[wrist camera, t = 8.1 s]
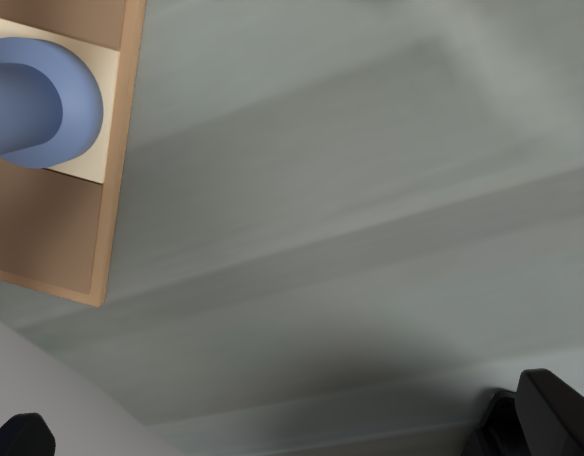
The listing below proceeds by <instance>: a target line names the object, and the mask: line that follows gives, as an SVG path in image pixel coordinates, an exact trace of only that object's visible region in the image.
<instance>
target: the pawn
mask: <svg viewBox="0 0 584 456" xmlns="http://www.w3.org/2000/svg"><path fill="white" fill-rule="evenodd" d="M103 116H104V108H103V100H102V95H101V91H100V89H99V86H98V83H97V81H96V79H95V77H94V75H93V74H92V72H91V71H90V69H89V68H88V67H87V65H86V64H85V63H84V62H83V61H82V60H81V59H80V58H79V57H78V56H77V55H76V54H74V53H73V52H72V51H71V50H69V49H67V48H66V47H64V46H62V45H60V44H57V43H55V42H52V41H48V40H42V39H32V38H21V37H6V38H0V157H1V158H3V159H5V160H6V161H8V162H11V163H13V164H15V165H18V166H22V167H26V168H36V169H40V168H47V167H51V166H55V165H57V164H60V163H63V162H66V161H69V160H72V159H74V158H77V157H79V156H80V155H82V154H84V153H85V152H86V151H87V150H89V149H90V147H91V146H92V145H93V144H94V142H95V141H96V139H97V138H98V135H99V133H100V131H101V127H102V123H103Z"/></svg>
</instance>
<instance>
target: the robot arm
mask: <svg viewBox="0 0 584 456" xmlns="http://www.w3.org/2000/svg"><path fill="white" fill-rule="evenodd" d="M505 401H509V402H508V403H507V404H501V403H502V402H505ZM55 447H56V445H55V438H54V436H53V434H52V433H51V431H50V429H49V428H48V426H47V425H46V423H45V421H44V420H43V418H42V416H41V415H39V414H38V413H25V414H18V415H15V416H13V417H12V418H10V419H9V420H8V421H7V422H6V423H5V424H4V425H3V426H2V427H1V428H0V456H54V454H55ZM461 456H584V397H583V396H582V395H581V394H579V393H578V392H577V391H575V390H574V389H573V388H572V387H570V386H569V385H568V384H566V383H565V382H564V381H562V380H561V379H560V378H559V377H557V376H556V375H555V374H553V373H552V372H551V371H549V370H547V369H543V368H540V369H528V370H524V371H523V372H522V373H521V375H520V379H519V383H518V387H517V392H516V394H514V393H511V392H506V391H502V392H498V393H497V394H495V395H494V397H493V398H492V400H491V402H490V404H489V406H488V408H487V410H486V412H485V414H484V416H483V418H482V420H481V422H480V424H479V426H478V427H477V428H475V429H474V430H473V432H472V434H471V436H470V438H469V440H468V442H467V444H466V446H465V448H464V450H463V452H462V454H461Z"/></svg>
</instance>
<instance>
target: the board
mask: <svg viewBox="0 0 584 456" xmlns="http://www.w3.org/2000/svg"><path fill="white" fill-rule="evenodd" d="M145 7H146V0H0V38H6V37H21V38H32V39H42V40H48V41H52V42H55V43H57V44H60V45H62V46H64V47H66V48H67V49H69V50H71V51H72V52H73V53H74V54H76V55H77V56H78V57H79V58H80V59H81V60H82V61H83V62H84V63H85V64H86V65H87V67H88V68H89V69H90V71H91V72H92V74H93V75H94V77H95V79H96V81H97V83H98V86H99V89H100V91H101V95H102V100H103V108H104V116H103V123H102V127H101V131H100V133H99V135H98V138H97V139H96V141H95V142H94V144H93V145H92V146H91V147H90V149H89V150H87V151H86V152H85V153H84V154H82V155H80V156H79V157H77V158H74V159H72V160H69V161H66V162H63V163H60V164H57V165H55V166H51V167H47V168H40V169H36V168H26V167H22V166H18V165H15V164H13V163H11V162H8V161H6V160H5V159H3V158H1V157H0V280H2V281H6V282H9V283H13V284H16V285H20V286H23V287H27V288H30V289H34V290H38V291H41V292H45V293H48V294H52V295H55V296H59V297H63V298H66V299H70V300H73V301H77V302H80V303H84V304H88V305H91V306H95V307H98V308H99V307H100V306H101V305H102V304H103V303H104V302H105V296H106V289H107V281H108V274H109V267H110V260H111V253H112V245H113V238H114V231H115V224H116V216H117V209H118V202H119V195H120V188H121V180H122V173H123V166H124V159H125V151H126V144H127V137H128V130H129V123H130V115H131V108H132V101H133V94H134V86H135V79H136V72H137V65H138V58H139V50H140V43H141V36H142V29H143V21H144V14H145Z"/></svg>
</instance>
